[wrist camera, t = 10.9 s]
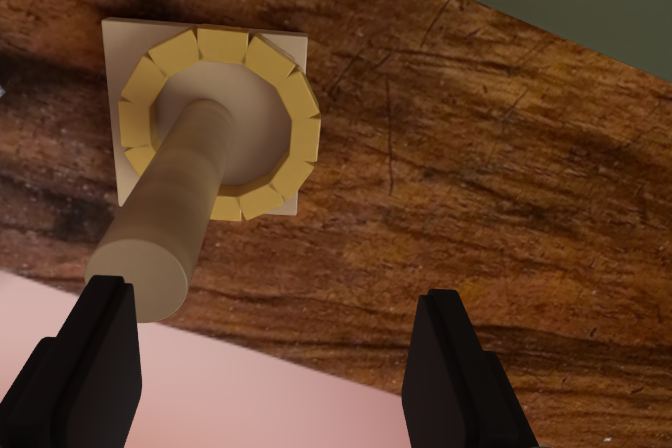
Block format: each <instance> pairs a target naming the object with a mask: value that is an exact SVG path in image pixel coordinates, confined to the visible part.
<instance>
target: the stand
mask: <svg viewBox="0 0 672 448" xmlns="http://www.w3.org/2000/svg"><path fill="white" fill-rule="evenodd" d="M474 1H477V2H479V3H481V4H484V5H486V6H489V7H491V8H493V9H496V10H498V11H501V12H503V13H505V14H508V15H510V16H513V17H515V18H517V19H520V20H522V21H525V22H527V23H529V24H532V25H534V26H536V27H539V28H541V29H544V30H546V31H548V32H551V33H553V34H556V35H558V36H560V37H563V38H565V39H568V40H570V41H572V42H575V43H577V44H580V45H582V46H584V47H587V48H589V49H592V50H594V51H596V52H599V53H601V54H603V55H606V56H608V57H611V58H613V59H615V60H618V61H620V62H623V63H625V64H627V65H630V66H632V67H635V68H637V69H639V70H642V71H644V72H647V73H649V74H651V75H654V76H656V77H659V78H661V79H663V80H666V81H668V82H671V83H672V0H474Z"/></svg>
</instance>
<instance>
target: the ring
mask: <svg viewBox="0 0 672 448" xmlns="http://www.w3.org/2000/svg"><path fill="white" fill-rule="evenodd" d="M250 31H251V30H250V28H242V27H233V26H223V25H213V24H204V23H203V24H201V25H200V26H199V27H198V28H197V26H196V25H193V26H191V27H189V28H187V29H185V30H183V31H181V32H179V33H177V34H175V35H173V36H171V37H169V38H167V39H165V40H163V41H160V42H158V43H156V44H154V45H153V46H152V47H151V48H150V49H148V51H147V52H146V53H145V54H143V55H142V56H141V58H140V60H139V61H138V63H137V65H136V67H135V68H134V70H133V72H132V74H131V75H130V77H129V79H128V81H127V82H126V84H125V86H124V88H123V89H122V91H121V93H120V95H121V96H122V98H121V99H120V100H119V101H118V109H119V124H120V139H121V146H122V147H127V148H126V150H125V151H124V154H125V156H126V157H127V159H128V160H129V162H130V163H131V165H132V166H133V168H134V169H135V171H136V172H137V174H138V175H139V177H141V176H142V174H143V172H144V171H145V169H146V168H147V166H148V164H149V163H150V161H151V160H152V158H153V157H154V155H155V153H156V152H157V150H158V149H159V147H160V145H161V144H162V143H161V141H160V140H159V138H158V137H157V123H156V100H157V98H158V96H159V95H160V93H161V91H162V90H163V88H164V86H165V85H166V83H167V81H168V79H169V78H170V76H172V75H174V74H176V73H178V72H180V71H182V70H184V69H186V68H188V67H191V66H193V65H195V64H197V63H199V62H201V61H209V62H220V63H230V64H240V65H243V66H245V67H246V68H248V69H249V70H251V71H252V72H254V73H255V74H257V75H258V76H259V77H261V78H262V79H264V80H265V81H267V82H268V83H270V84H271V85H272V86H274V87H275V88H276V91H277V93H278V95H279V97H280V99H281V101H282V103H283V105H284V107H285V109H286V111H287V113H288V115H289V117H290V119H291V128H290V142H289V148H288V149H287V150H286V152H285V153H284V154H283V156H282V157H281V159H280V160H279V161H278V163H277V164H276V166H275V167H274V168H273V170H272V171H271V172H270V173H269V174H267V175H265V176H262V177H260V178H258V179H255V180H253V181H251V182H249V183H246V184H244V185H242V186H226V185H220V187H219V190H218V193H217V197H216V200H215V203H214V207H213V210H212V213H211V217H210V219H214V220H229V221H241V220H242V214H243V215H244V217H245V219H246V220H249V219H252V218H254V217H256V216H259V215H261V214H263V213H266V212H268V211H270V210H273V209H275V208H277V207H280V206H282V205H284V204H285V198H286V199H288V200H291V198H292V197H293V196H294V194H295V193H296V192H297V190H298V189H299V188H300V186H301V185H302V184H303V182H304V181H305V180H306V178H307V177H308V176H309V175H310V173H311V172H312V171H313V169H314V162H317V157H318V146H319V136H320V126H321V115H320V111H319V104H318V102H317V99H316V97H315V95H314V93H313V91H312V89H311V86H310V84H309V82H308V80H307V78H306V76H305V74H304V71H303V69H302V67H301V66H300V65H297V66H295V58H294V57H292V56H291V55H289V54H288V53H287V52H285V51H284V50H283V49H281V48H280V47H278V46H277V45H276V44H274V43H273V42H271V41H270V40H269V39H267V38H266V37H264V36H263V35H262V34H260V33H259V32H255V34H254V35H253V37H252V38H251V40H250Z"/></svg>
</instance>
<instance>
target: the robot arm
mask: <svg viewBox="0 0 672 448" xmlns="http://www.w3.org/2000/svg"><path fill="white" fill-rule="evenodd" d="M139 353H140V352H139V341H138V330H137V318H136V307H135V295H134V287H133V284H132V283H125V280H124V278H123V277H122V276H113V275H93V276H92V277H91V279H90V280H89V282H88V284H87V285H86V287H85V289H84V290H83V292H82V294H81V295H80V297H79V299H78V301H77V302H76V304H75V306H74V307H73V309H72V311H71V312H70V314H69V316H68V318H67V319H66V321H65V323H64V324H63V326H62V328H61V329H60V331H59V333H58V335H57V336H56V337H45V338H43V339H41V340H40V342H39V343H38V344H37V346H36V347H35V349H34V351H33V352H32V354H31V355H30V357H29V359H28V360H27V362H26V363H25V365H24V366H23V368H22V370H21V371H20V373H19V375H18V376H17V378H16V379H15V381H14V382H13V384H12V386H11V388H10V389H9V390H8V392H7V394H6V395H5V397H4V398H3V400H2V402H1V403H0V448H124V445H125V442H126V439H127V436H128V433H129V430H130V427H131V424H132V421H133V418H134V415H135V412H136V409H137V406H138V403H139V400H140V396H141V391H142V376H141V365H140V354H139ZM402 406H403V410H404V415H405V420H406V425H407V429H408V434H409V438H410V443H411V448H550V447H544V446H543V447H539V445H538V442H537V440H536V438H535V436H534V434H533V432H532V430H531V427H530V425H529V423H528V421H527V419H526V417H525V414H524V412H523V410H522V408H521V406H520V404H519V401H518V399H517V397H516V395H515V393H514V391H513V389H512V386H511V384H510V382H509V380H508V378H507V376H506V373H505V371H504V369H503V367H502V365H501V363H500V361H499V358H498V357H497V355H496V354H495V353H494V352H493V351H483V349H482V347H481V345H480V342H479V340H478V338H477V335H476V333H475V331H474V329H473V326H472V324H471V322H470V319H469V317H468V315H467V312H466V310H465V308H464V306H463V303H462V301H461V299H460V296H459V294H458V292H457V291H456V290H449V289H430V290H429V291H428V294H427V295H420V297H419V300H418V305H417V310H416V316H415V321H414V326H413V332H412V337H411V343H410V348H409V353H408V359H407V364H406V369H405V375H404V380H403V386H402Z"/></svg>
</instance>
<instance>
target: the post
mask: <svg viewBox="0 0 672 448" xmlns="http://www.w3.org/2000/svg"><path fill="white" fill-rule="evenodd" d="M101 23H102V33H103V44H104V54H105V65H106V75H107V86H108V97H109V107H110V118H111V128H112V139H113V149H114V160H115V171H116V181H117V192H118V202H119V206H122V207H121V209H120V210H119V212H118V214H117V215H116V217H115V218H114V220H113V221H112V223H111V225H110V226H109V228H108V229H107V231H106V233H105V234H104V236H103V237H102V239H101V240H100V242H99V244H98V245H97V247H96V248H95V250H94V252H93V253H92V255H91V256H90V258H89V260H88V262H87V264H86V268H85V283H86V285H87V284H88V282H89V280H90V279H91V277H92V276H93V275H113V276H122V277H123V278H124V280H125V283H132V284H133V287H134V295H135V307H136V318H137V323H150V322H155V321H159V320H162V319H164V318H166V317H168V316H170V315H171V314H173V313H174V312H176V311H177V310H178V309H179V308H180V306H181V305H182V304H183V302H184V300H185V298H186V295H187V292H188V289H189V286H190V282H191V279H192V276H193V272H194V269H195V266H196V263H197V259H198V256H199V253H200V249H201V246H202V243H203V240H204V236H205V233H206V230H207V226H208V223H209V220H210V217H211V213H212V210H213V207H214V203H215V200H216V197H217V193H218V190H219V187H220V185H226V186H242V185H244V184H246V183H249V182H251V181H253V180H255V179H258V178H260V177H262V176H265V175H267V174H269V173H270V172H271V171H272V170H273V168H274V167H275V166H276V164H277V163H278V161H279V160H280V159H281V157H282V156H283V154H284V153H285V152H286V150H287V149H288V148H289V142H290V128H291V119H290V117H289V115H288V113H287V111H286V109H285V107H284V105H283V103H282V101H281V99H280V97H279V95H278V93H277V91H276V88H275V87H274V86H272V85H271V84H270V83H268V82H267V81H265V80H264V79H262V78H261V77H259V76H258V75H257V74H255V73H254V72H252V71H251V70H249V69H248V68H246V67H245V66H243V65H240V64H230V63H220V62H209V61H201V62H199V63H197V64H195V65H193V66H191V67H188V68H186V69H184V70H182V71H180V72H178V73H176V74H174V75H172V76H170V78H169V79H168V81H167V83H166V85H165V86H164V88H163V90H162V91H161V93H160V95H159V96H158V98H157V100H156V123H157V137H158V138H159V140H160V141H161V143H162V144H161V145H160V147H159V149H158V150H157V152H156V153H155V155H154V157H153V158H152V160H151V161H150V163H149V164H148V166H147V168H146V169H145V171H144V172H143V174H142V176H141V177H139V175H138V174H137V172H136V171H135V169H134V168H133V166H132V165H131V163H130V162H129V160H128V159H127V157H126V156H125V154H124V151H125V150H126V148H127V147H122V146H121V139H120V124H119V109H118V101H119V100H120V99H121V98H122V96H121V95H120V93H121V91H122V89H123V88H124V86H125V84H126V82H127V81H128V79H129V77H130V75H131V74H132V72H133V70H134V68H135V67H136V65H137V63H138V61H139V60H140V58H141V56H142V55H143V54H145V53H146V52H147V51H148V49H150V48H151V47H152V46H153V45H154V44H156V43H158V42H160V41H163V40H165V39H167V38H169V37H171V36H173V35H175V34H177V33H179V32H181V31H183V30H185V29H187V28H189V27H191V26H193V25H196V26H197V28H198V27H199V26H200V25H201V24H191V23H179V22H167V21H155V20H143V19H130V18H118V17H108V18H106V19H104V20H102V21H101ZM250 30H251V31H250V40H251V38H252V37H253V35H254V34H255V32H259V33H260V34H262V35H263V36H264V37H266V38H267V39H269V40H270V41H271V42H273V43H274V44H276V45H277V46H278V47H280V48H281V49H283V50H284V51H285V52H287V53H288V54H289V55H291V56H292V57H294V58H295V66H297V65H300V66H301V67H302V69H303V71H304V74H306V58H307V42H308V35H307V33H301V32H288V31H276V30H264V29H252V28H250ZM297 200H298V190H297V192H296V193H295V194H294V196H293V197H292V198H291V200H288V199H286V198H285V204H284V205H282V206H280V207H277V208H275V209H273V210H270V211H268V212H266V213H263V214H278V215H296V214H297Z"/></svg>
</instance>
